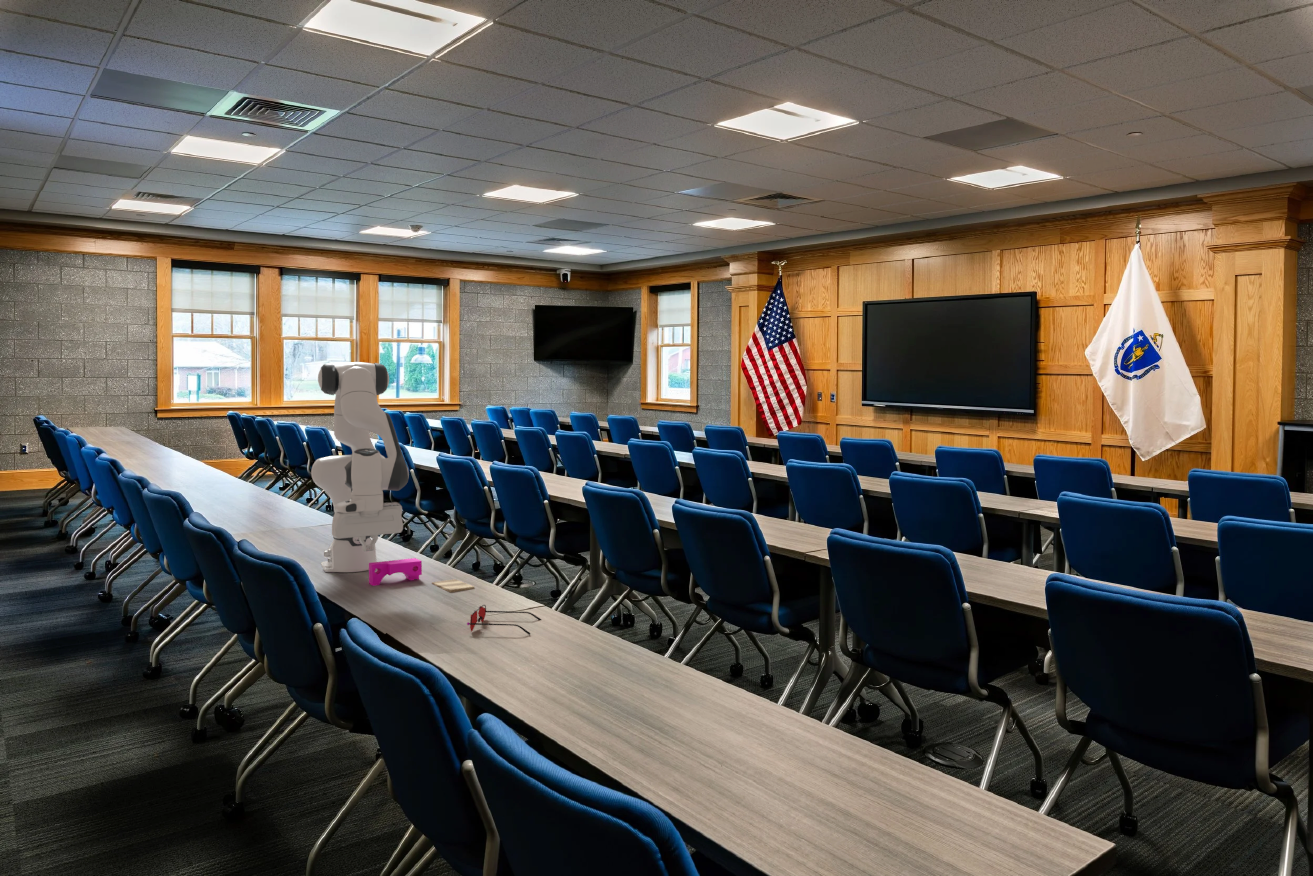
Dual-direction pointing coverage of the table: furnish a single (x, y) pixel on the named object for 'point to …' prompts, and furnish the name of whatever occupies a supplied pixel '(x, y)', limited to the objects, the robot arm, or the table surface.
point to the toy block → (394, 569)
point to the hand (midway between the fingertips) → (368, 550)
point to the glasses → (482, 615)
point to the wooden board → (453, 585)
